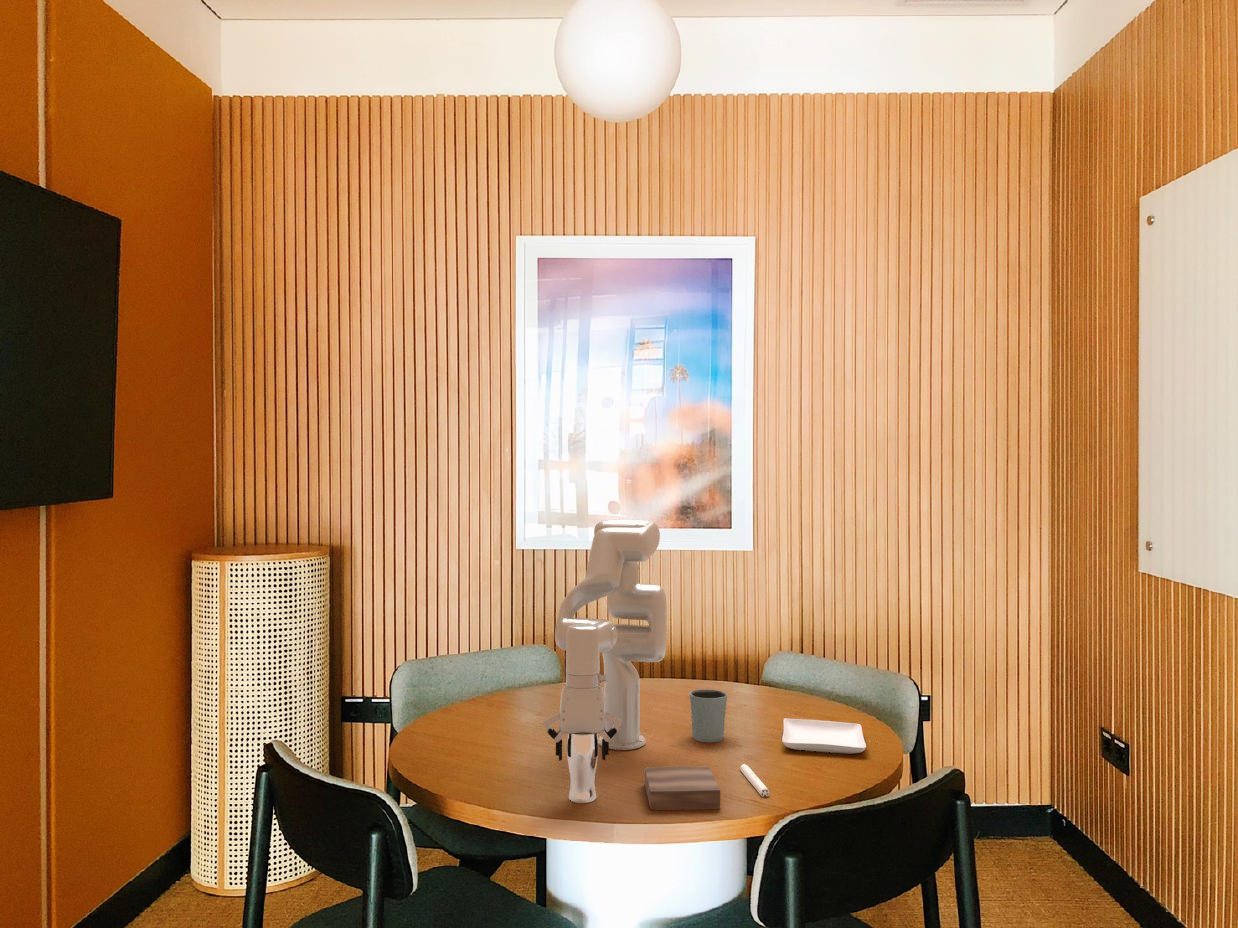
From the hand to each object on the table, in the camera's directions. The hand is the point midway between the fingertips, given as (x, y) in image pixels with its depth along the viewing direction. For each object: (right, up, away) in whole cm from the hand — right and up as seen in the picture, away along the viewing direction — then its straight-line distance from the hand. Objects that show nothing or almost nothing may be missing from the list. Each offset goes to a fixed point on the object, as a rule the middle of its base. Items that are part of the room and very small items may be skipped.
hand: (582, 758), depth 188 cm
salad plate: (+63, -10, +40) cm, 75 cm away
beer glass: (0, -9, 0) cm, 9 cm away
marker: (+40, -10, +11) cm, 42 cm away
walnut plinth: (+22, -9, +2) cm, 24 cm away
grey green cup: (+33, -10, +44) cm, 56 cm away
